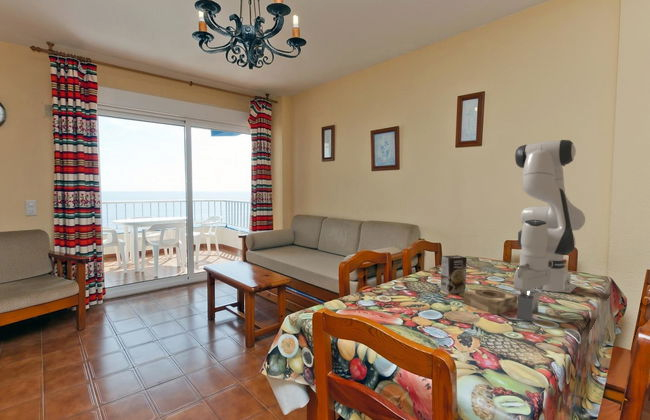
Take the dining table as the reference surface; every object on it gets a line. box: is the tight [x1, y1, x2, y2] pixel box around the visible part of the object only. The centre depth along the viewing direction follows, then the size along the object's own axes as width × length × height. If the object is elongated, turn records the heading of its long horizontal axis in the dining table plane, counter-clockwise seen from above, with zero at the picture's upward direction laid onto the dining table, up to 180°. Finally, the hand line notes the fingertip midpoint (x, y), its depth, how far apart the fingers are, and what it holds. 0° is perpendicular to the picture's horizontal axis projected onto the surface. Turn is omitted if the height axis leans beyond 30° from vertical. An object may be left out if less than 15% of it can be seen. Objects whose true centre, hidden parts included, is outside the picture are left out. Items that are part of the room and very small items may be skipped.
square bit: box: [516, 293, 534, 323], centre depth 118 cm, size 4×4×8 cm
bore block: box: [462, 286, 518, 316], centre depth 130 cm, size 14×14×5 cm
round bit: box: [527, 289, 540, 315], centre depth 124 cm, size 4×4×8 cm
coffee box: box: [440, 255, 468, 295], centre depth 149 cm, size 9×6×16 cm
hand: (531, 298), depth 124 cm, fingers open, 8 cm apart
